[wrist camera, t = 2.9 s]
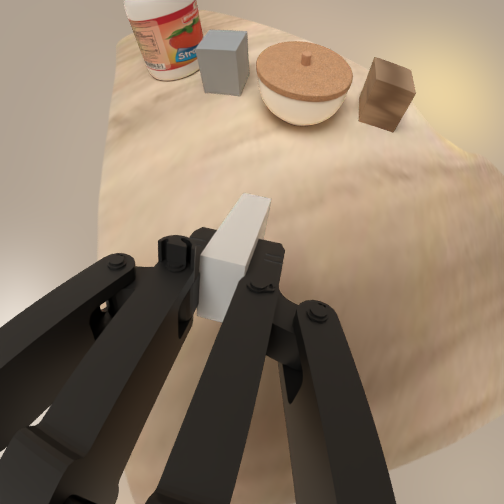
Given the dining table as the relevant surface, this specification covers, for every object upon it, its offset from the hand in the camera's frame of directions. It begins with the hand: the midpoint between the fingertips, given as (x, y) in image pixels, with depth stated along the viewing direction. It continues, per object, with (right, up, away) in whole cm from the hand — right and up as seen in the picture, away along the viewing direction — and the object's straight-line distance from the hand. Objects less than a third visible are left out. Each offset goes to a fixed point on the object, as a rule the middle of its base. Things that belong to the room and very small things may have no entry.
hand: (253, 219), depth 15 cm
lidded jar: (+6, +17, +18) cm, 25 cm away
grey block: (-4, +22, +20) cm, 30 cm away
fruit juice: (-12, +28, +22) cm, 37 cm away
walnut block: (+17, +17, +18) cm, 30 cm away
